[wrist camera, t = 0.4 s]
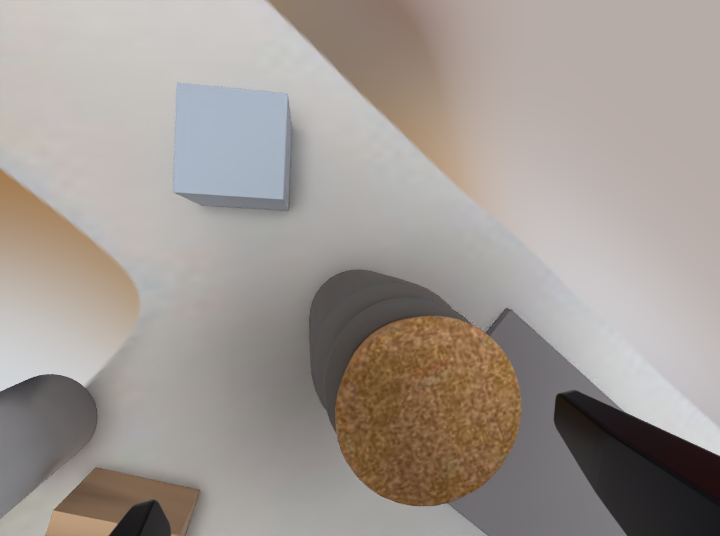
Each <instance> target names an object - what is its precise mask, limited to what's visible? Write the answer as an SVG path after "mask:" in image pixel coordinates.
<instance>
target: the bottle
mask: <svg viewBox="0 0 720 536" xmlns="http://www.w3.org/2000/svg"><path fill="white" fill-rule="evenodd" d="M309 328H310V362H311V374H312V378H313V382H314V386H315V390H316V393H317V395H318V397H319V399H320V401H321V403H322V405H323V406H324V408H325V409H326V411H327V413H328V416H329V419H330V422H331V424H332V426H333V428H334V430H335V432H336V434H337V438H338V442H339V445H340V448H341V451H342V453H343V455H344V457H345V460H346V462H347V463H348V464H349V466H350V467H351V469H352V470H353V472H354V473H355V474H356V476H357V477H358V478H359V479H360V480H361V481H362V482H363V483H364V484H365V485H366V486H367V487H368V488H370V489H371V490H373V491H374V492H376V493H377V494H379V495H380V496H382V497H385V498H387V499H390V500H392V501H394V502H397V503H401V504H406V505H411V506H436V505H440V504H445V503H449V502H454V501H456V500H458V499H460V498H462V497H464V496H466V495H468V494H470V493H472V492H474V491H475V490H477V489H479V488H480V487H481V486H482V485H484V484H485V483H486V482H488V480H489V479H490V478H491V477H492V476H493V475H494V474H495V473H496V472H497V471H498V470H499V469H500V467H501V466H502V464H503V463H504V461H505V459H506V458H507V456H508V454H509V453H510V451H511V449H512V447H513V445H514V442H515V440H516V437H517V434H518V430H519V426H520V419H521V410H522V409H521V393H520V388H519V383H518V379H517V376H516V373H515V370H514V368H513V366H512V364H511V362H510V360H509V359H508V357H507V355H506V354H505V352H504V351H503V350H502V349H501V347H500V346H499V345H498V344H497V342H495V341H494V340H493V339H492V338H491V337H490V336H488V335H487V334H486V333H485V332H484V331H482V330H480V329H479V328H477V327H475V326H473V325H472V324H471V323H470V322H469V321H468V320H467V319H466V318H464V317H463V316H462V315H460V314H459V313H458V312H456V311H454V310H453V309H452V308H451V307H450V306H449V305H448V304H447V303H446V302H445V301H444V300H442V299H441V298H440V297H439V296H438V295H436V294H434V293H433V292H431V291H429V290H428V289H426V288H424V287H421V286H419V285H416V284H413V283H410V282H407V281H404V280H401V279H397V278H394V277H390V276H386V275H382V274H378V273H375V272H371V271H365V270H350V271H346V272H342V273H340V274H337V275H336V276H334V277H332V278H330V279H329V280H328V281H327V282H326V283H325V284H324V285H323V286H322V287H321V288H320V289H319V291H318V292H317V293H316V295H315V297H314V300H313V302H312V306H311V310H310V318H309Z"/></svg>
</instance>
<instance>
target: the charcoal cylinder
mask: <svg viewBox="0 0 720 536" xmlns="http://www.w3.org/2000/svg"><path fill="white" fill-rule="evenodd" d="M96 424H97V409H96V405H95V402H94V400H93V398H92V396H91V395H90V393H89V392H88V391H87V390H86V388H84V387H83V386H82V385H81V384H80V383H78V382H77V381H75V380H73V379H71V378H68V377H65V376H61V375H54V374H51V375H49V374H47V375H40V376H36V377H33V378H30V379H28V380H25V381H23V382H21V383H19V384H16V385H14V386H12V387H10V388H7V389H5V390H3V391H1V392H0V519H1V518H2V517H3V516H4V515H5V514H7V513H8V512H9V511H10V510H11V509H12V508H14V507H15V506H16V505H17V504H18V503H19V502H21V501H22V500H23V499H24V498H25V497H26V496H28V495H29V494H30V493H31V492H32V491H33V490H35V489H36V488H37V487H38V486H39V485H40V484H42V483H43V482H44V481H45V480H46V479H47V478H48V477H50V476H51V475H52V474H53V473H54V472H55V471H57V470H58V469H59V468H60V467H61V466H62V465H64V464H65V463H66V462H67V461H68V460H69V459H71V458H72V457H73V456H74V455H75V454H76V453H78V452H79V451H80V450H81V449H82V448H83V447H84V446H85V445H86V444H87V443H88V442H89V440H90V439H91V437H92V435H93V433H94V431H95V428H96Z"/></svg>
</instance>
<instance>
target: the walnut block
mask: <svg viewBox="0 0 720 536" xmlns="http://www.w3.org/2000/svg"><path fill="white" fill-rule="evenodd" d="M199 491H200V490H197V489H192V488H188V487H183V486H178V485H174V484H169V483H164V482H160V481H155V480H151V479H146V478H141V477H137V476H132V475H127V474H123V473H118V472H114V471H109V470H104V469H100V468H95V469H94V470H93V471H92V472H91V473H90V474H89V475H88V476H87V477H86V478H85V479H84V480H83V481H82V482H81V483H80V484H79V485H78V486H77V487H76V488H75V489H74V490H73V491H72V492H71V493H70V494H69V495H68V496H67V497H66V498H65V499H64V500H63V501H62V502H61V503H60V504H59V505H58V506H57V507H56V508H55V509H54V510H53V513H52V516H51V519H50V523H49V526H48V529H47V532H46V535H45V536H109V534H110V533H111V532H112V531H113V529H114V528H115V527H116V526H117V524H118V523H119V522H120V521H121V519H122V518H123V517H124V516H125V514H126V513H127V512H128V511H129V509H130V508H131V507H132V506H133V505H135V504H137V503H140V502H143V501H147V500H151V499H155V500H157V501H158V502H159V504H160V506H161V508H162V509H163V511H164V513H165V515H166V517H167V519H168V521H169V523H170V527H171V536H186V533H187V529H188V526H189V523H190V520H191V517H192V513H193V510H194V507H195V504H196V501H197V497H198V494H199Z"/></svg>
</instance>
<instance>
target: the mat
mask: <svg viewBox="0 0 720 536" xmlns="http://www.w3.org/2000/svg"><path fill="white" fill-rule="evenodd" d="M486 334H487V335H488V336H490V337H491V338H492V339H493V340H494V341H495V342H497V344H498V345H499V346H500V347H501V349H502V350H503V351H504V352H505V354H506V355H507V357H508V359H509V360H510V362H511V364H512V366H513V368H514V370H515V373H516V376H517V379H518V383H519V388H520V393H521V409H522V410H521V419H520V426H519V430H518V434H517V437H516V440H515V442H514V445H513V447H512V449H511V451H510V453H509V454H508V456H507V458H506V459H505V461H504V463H503V464H502V466H501V467H500V469H499V470H498V471H497V472H496V473H495V474H494V475H493V476H492V477H491V478H490V479H489V480H488V482H486V483H485V484H484V485H482V486H481V487H480V488H479V489H477V490H475V491H474V492H472V493H470V494H468V495H466V496H464V497H462V498H460V499H458V500H456V501H454V502H449V503H448V504H449V505H450V506H451V507H453V508H454V509H455V510H456V511H458V512H459V513H460V514H461V515H463V516H464V517H465V518H466V519H468V520H469V521H470V522H472V523H473V524H474V525H475V526H477V527H478V528H479V529H480V530H482V531H483V532H484V533H485V534H487V535H488V536H627V535H626V534H625V532H624V531H623V530H622V528H621V527H620V526H619V524H618V523H617V522H616V520H615V519H614V518H613V516H612V515H611V514H610V512H609V511H608V509H607V508H606V507H605V505H604V504H603V503H602V501H601V500H600V498H599V497H598V496H597V494H596V493H595V491H594V490H593V488H592V487H591V485H590V483H589V482H588V480H587V479H586V477H585V475H584V474H583V472H582V470H581V469H580V467H579V465H578V464H577V462H576V460H575V459H574V457H573V456H572V454H571V452H570V451H569V449H568V447H567V446H566V444H565V442H564V441H563V439H562V437H561V436H560V434H559V432H558V431H557V429H556V427H555V424H554V409H555V398H556V395H557V394H558V393H560V392H564V391H567V390H577V391H580V392H582V393H584V394H586V395H588V396H591V397H593V398H595V399H597V400H599V401H601V402H604V403H606V404H608V405H610V406H612V407H614V408H617V409H619V410H621V411H623V410H622V409H621V408H619V407H618V406H617V405H616V404H615V403H614V402H613V401H612V400H611V399H609V398H608V397H607V396H606V395H605V394H604V393H603V392H602V391H601V390H600V389H598V388H597V387H596V386H595V385H594V384H593V383H592V382H591V381H590V380H588V379H587V378H586V377H585V376H584V375H583V374H582V373H581V372H580V371H579V370H577V369H576V368H575V367H574V366H573V365H572V364H571V363H570V362H569V361H567V360H566V359H565V358H564V357H563V356H562V355H561V354H560V353H559V352H557V351H556V350H555V349H554V348H553V347H552V346H551V345H550V344H549V343H548V342H546V341H545V340H544V339H543V338H542V337H541V336H540V335H539V334H538V333H536V332H535V331H534V330H533V329H532V328H531V327H530V326H529V325H528V324H527V323H525V322H524V321H523V320H522V319H521V318H520V317H519V316H518V315H517V314H515V313H514V312H513V311H512V310H511V309H507V308H506V310H505V311H504V312H503V313H502V315H501V316H500V317H499V318H498V320H497V321H496V322H495V323H494V324H493V326H492V327H491V328H490V329H489V331H488V332H487V333H486ZM623 412H624V411H623Z"/></svg>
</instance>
